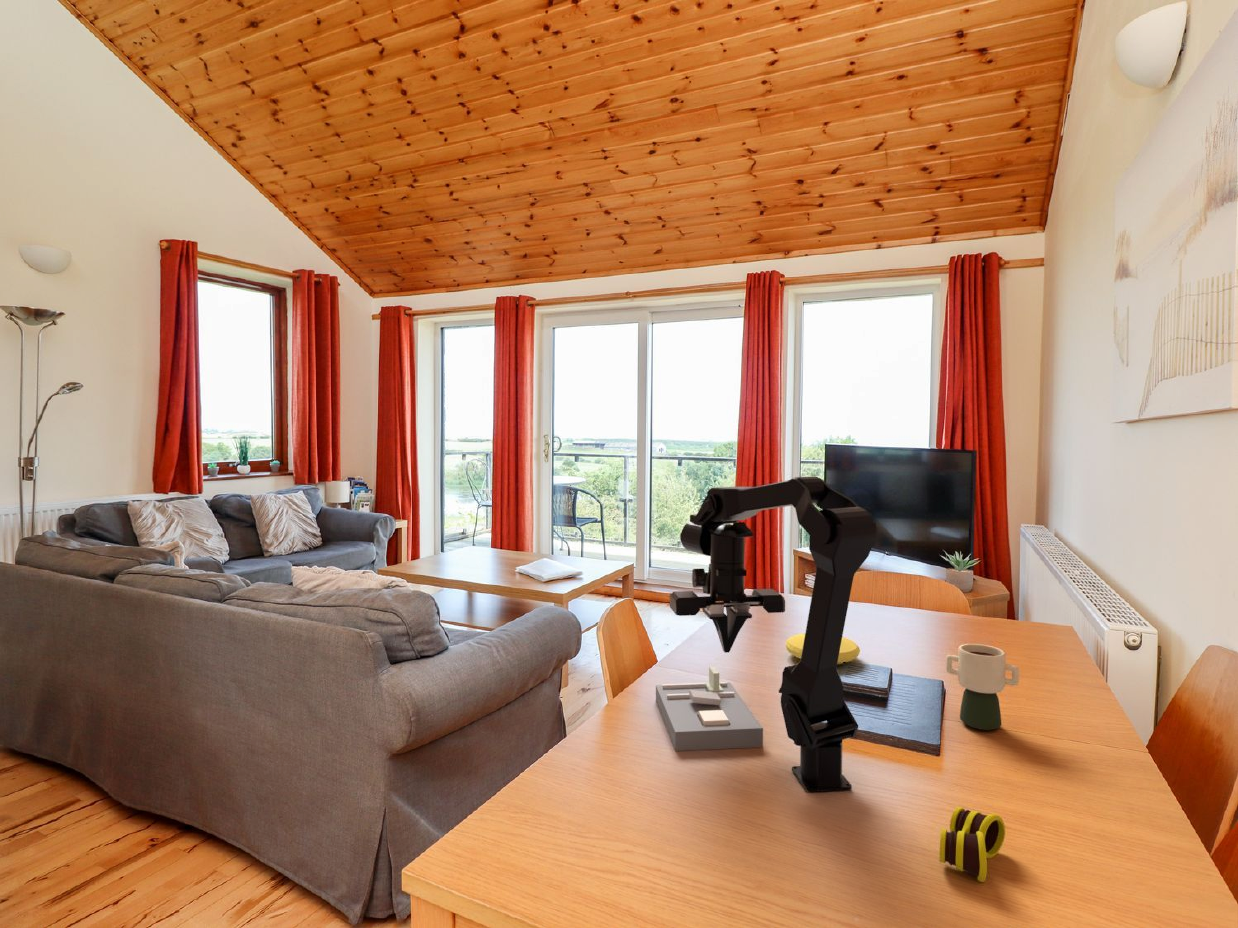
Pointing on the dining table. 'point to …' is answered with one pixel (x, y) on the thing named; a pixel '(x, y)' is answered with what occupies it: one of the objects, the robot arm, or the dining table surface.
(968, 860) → the opera glasses
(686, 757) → the dining table surface
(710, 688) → the slide paddle
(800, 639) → the yellow flattened dome
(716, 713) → the push button
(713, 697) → the pale grey slab
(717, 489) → the robot arm
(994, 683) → the character mug
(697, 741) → the console
